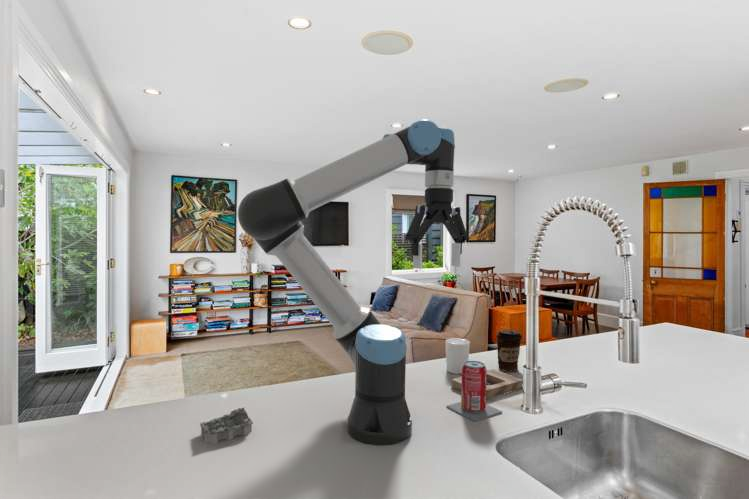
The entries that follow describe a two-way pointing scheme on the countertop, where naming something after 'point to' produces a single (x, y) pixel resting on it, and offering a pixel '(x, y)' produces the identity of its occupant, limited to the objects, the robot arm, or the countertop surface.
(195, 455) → the countertop surface
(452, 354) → the white cup
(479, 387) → the soda can
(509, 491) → the countertop surface
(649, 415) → the countertop surface
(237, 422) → the egg carton
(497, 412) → the grey rubber mat
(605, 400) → the countertop surface
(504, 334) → the coffee cup
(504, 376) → the walnut holder
